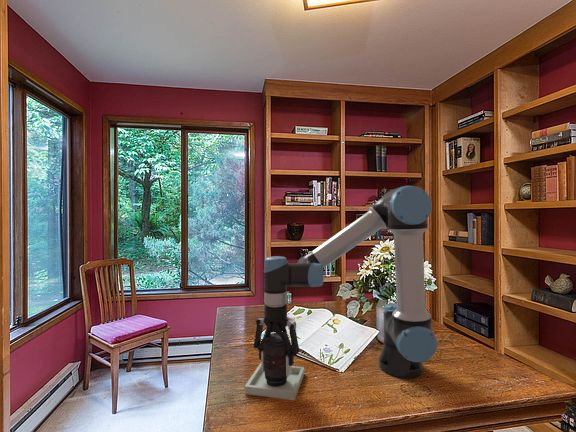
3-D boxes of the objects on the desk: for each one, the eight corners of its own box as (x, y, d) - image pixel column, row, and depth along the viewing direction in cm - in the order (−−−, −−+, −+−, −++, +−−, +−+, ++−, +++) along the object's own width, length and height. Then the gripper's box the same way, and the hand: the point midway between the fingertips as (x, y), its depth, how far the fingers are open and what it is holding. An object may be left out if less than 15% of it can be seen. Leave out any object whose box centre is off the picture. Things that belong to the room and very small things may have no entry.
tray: (304, 374, 114) (304, 367, 114) (294, 400, 98) (294, 392, 98) (260, 369, 118) (260, 362, 118) (244, 393, 102) (244, 386, 102)
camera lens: (286, 389, 103) (285, 342, 103) (261, 387, 105) (260, 340, 105) (291, 376, 111) (290, 332, 111) (268, 374, 113) (267, 331, 112)
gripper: (309, 304, 107) (310, 372, 107) (253, 297, 115) (253, 361, 116) (301, 311, 100) (302, 384, 100) (242, 303, 108) (242, 371, 109)
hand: (276, 371), depth 108 cm, fingers open, 8 cm apart
